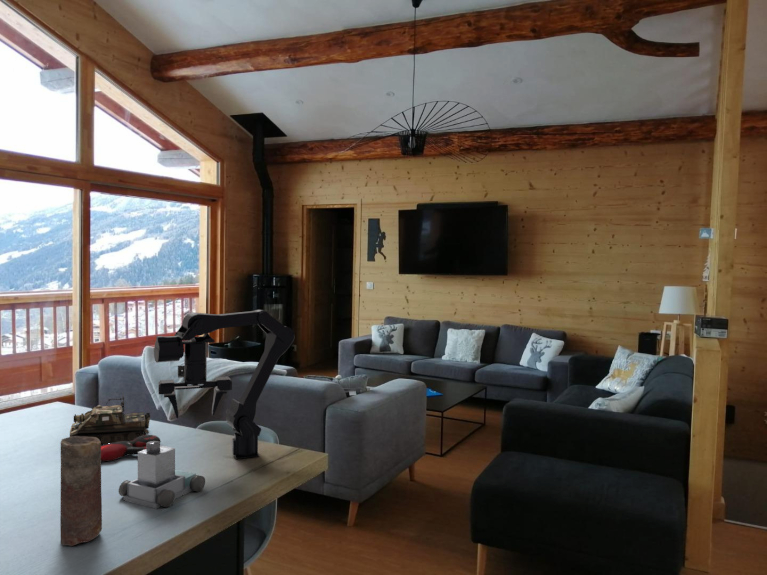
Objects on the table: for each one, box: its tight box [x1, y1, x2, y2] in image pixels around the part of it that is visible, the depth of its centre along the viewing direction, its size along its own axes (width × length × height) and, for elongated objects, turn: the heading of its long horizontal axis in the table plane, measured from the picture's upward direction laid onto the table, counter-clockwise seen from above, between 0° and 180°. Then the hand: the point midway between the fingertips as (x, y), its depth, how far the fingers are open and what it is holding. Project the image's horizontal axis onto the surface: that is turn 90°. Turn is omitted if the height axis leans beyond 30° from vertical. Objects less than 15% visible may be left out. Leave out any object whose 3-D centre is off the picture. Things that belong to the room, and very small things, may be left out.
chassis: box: [118, 468, 206, 509], centre depth 139 cm, size 14×14×4 cm
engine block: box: [137, 441, 176, 488], centre depth 137 cm, size 6×6×12 cm
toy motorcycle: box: [101, 434, 162, 462], centre depth 165 cm, size 25×5×16 cm
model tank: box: [69, 395, 151, 446], centre depth 181 cm, size 13×22×15 cm, turn 114°
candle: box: [59, 436, 103, 547], centre depth 116 cm, size 8×7×20 cm
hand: (195, 416), depth 159 cm, fingers open, 9 cm apart
